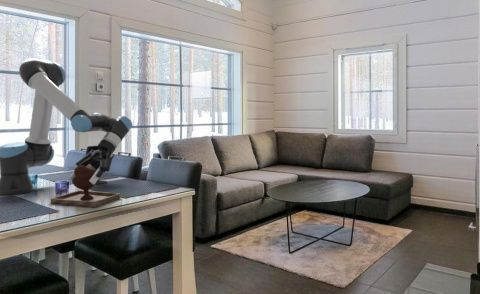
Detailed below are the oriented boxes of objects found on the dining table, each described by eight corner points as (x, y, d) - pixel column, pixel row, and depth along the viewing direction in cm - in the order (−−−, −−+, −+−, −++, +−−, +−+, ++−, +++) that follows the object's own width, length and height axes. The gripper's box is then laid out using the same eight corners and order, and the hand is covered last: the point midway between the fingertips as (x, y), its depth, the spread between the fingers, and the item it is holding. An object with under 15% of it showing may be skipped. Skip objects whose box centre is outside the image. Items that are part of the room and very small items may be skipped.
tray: (50, 203, 160) (50, 198, 159) (79, 194, 177) (79, 190, 177) (94, 207, 153) (94, 202, 153) (120, 198, 171) (120, 193, 170)
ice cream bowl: (84, 203, 158) (81, 168, 156) (68, 200, 163) (64, 166, 161) (105, 197, 167) (102, 163, 165) (88, 194, 172) (86, 162, 170)
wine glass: (100, 185, 200) (99, 147, 198) (82, 184, 202) (81, 147, 200) (110, 181, 210) (109, 145, 208) (93, 180, 212) (92, 145, 210)
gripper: (132, 151, 170) (105, 189, 158) (96, 147, 183) (69, 182, 171) (123, 140, 165) (94, 179, 153) (86, 137, 177) (58, 173, 166)
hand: (81, 181), depth 162 cm, fingers open, 13 cm apart
